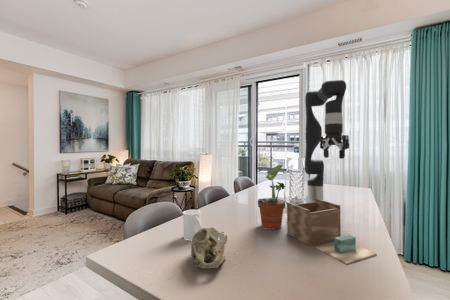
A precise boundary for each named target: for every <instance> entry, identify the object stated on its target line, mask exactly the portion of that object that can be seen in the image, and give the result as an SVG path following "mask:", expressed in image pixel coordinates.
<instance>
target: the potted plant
mask: <svg viewBox="0 0 450 300" xmlns="http://www.w3.org/2000/svg"><path fill="white" fill-rule="evenodd" d="M283 166H284V165H283V164H279V165H276V166H274V167H272V168H270V169H269V170H267V172H266V174H267V175H266V176H265V179H267V180H268V181H271V185H269V187H270V188H271V197H270V198H269V197H265V198H258V200H257V206H258V208H259V212H260V213H259V215H260V222H261V227H262V226H263V227H264V229H265V228H266V229H265V230H269V229H270V231H271V230H278V229H280V228H281V227H282V224H283V215H284V209H286V201H285V200H284V199H280V198H278V196H279V192H280V191H281V190H284V189H285V187H286V186H285V184H284V183H283V182H277V181H276V183H277V184H278V185H277V184H275V185H274V179H275V178H276V177H277V175H278V173H279V171H280V170H281V169H282V167H283ZM275 191H277V195H276V192H275ZM263 227H262V228H263Z"/></svg>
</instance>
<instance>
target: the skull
mask: <svg viewBox="0 0 450 300" xmlns="http://www.w3.org/2000/svg"><path fill="white" fill-rule="evenodd" d="M190 242H191V243H190V249H191V250H190V252H191V253H190V257H191V261H193V263H194V265H195V266H196V267H198V268H201V269H211V268H212V269H218V268H219V267H220V266H221V264H222V263H224V260H225V257H226V255H224V252H225V245H226V243H227V242H228V235H227V234H225V232H224V231H221V232H219V230H217V229H216V228H215V227H214V226H213V227H209V228H208V227H201V229H200V230H199V231H198V232H196V234H195V235H194V236H193V239H192V241H190ZM223 255H224V256H223ZM209 259H210V261H212V262H208V263H207V262H206V261H208V260H209ZM204 261H205V262H204ZM225 261H226V260H225Z"/></svg>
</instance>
